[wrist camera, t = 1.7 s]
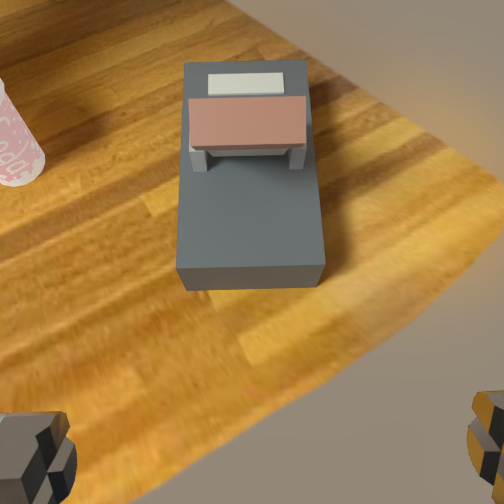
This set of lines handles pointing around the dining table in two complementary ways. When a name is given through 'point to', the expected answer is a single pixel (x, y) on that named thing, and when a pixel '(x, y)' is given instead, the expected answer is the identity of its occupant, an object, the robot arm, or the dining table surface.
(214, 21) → the dining table surface
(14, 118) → the beverage cup
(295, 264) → the switch panel
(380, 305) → the dining table surface
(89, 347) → the dining table surface
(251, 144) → the lever
